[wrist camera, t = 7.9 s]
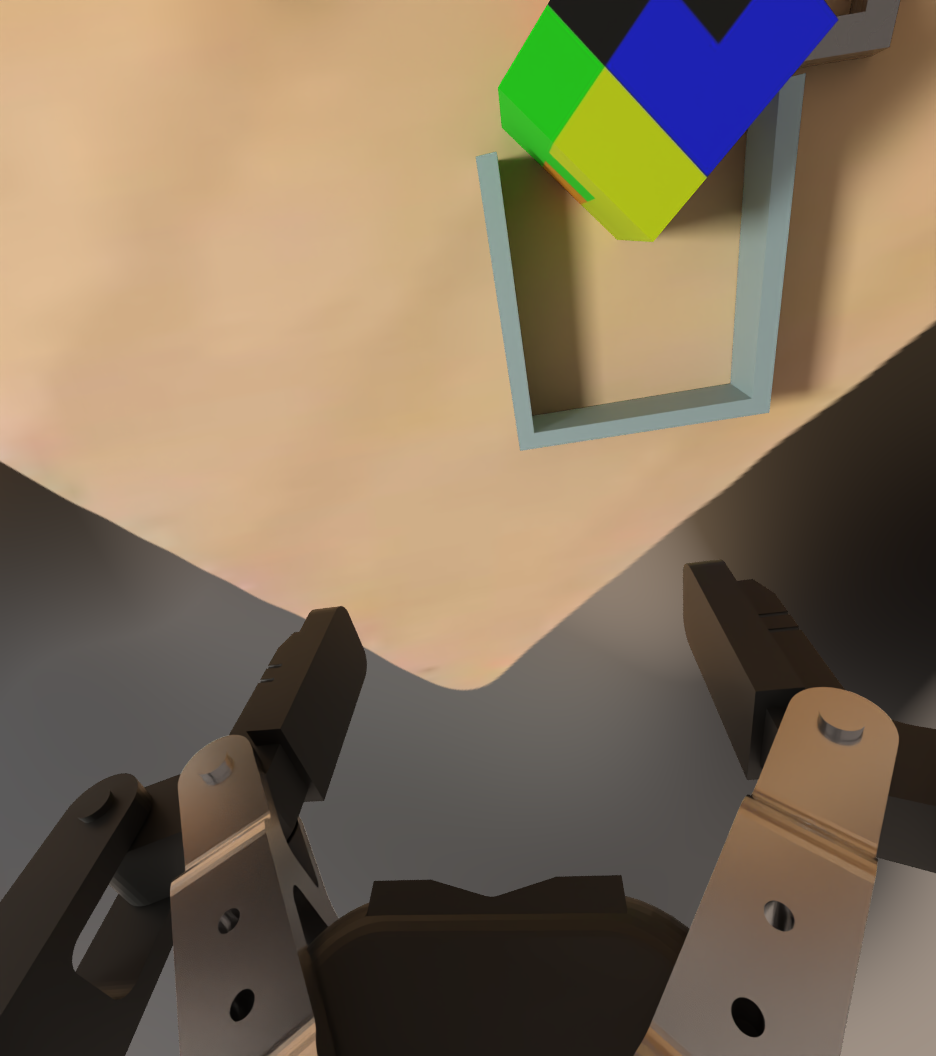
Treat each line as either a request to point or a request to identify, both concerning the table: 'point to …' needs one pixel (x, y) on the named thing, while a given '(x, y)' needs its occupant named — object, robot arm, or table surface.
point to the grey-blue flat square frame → (754, 311)
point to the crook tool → (857, 33)
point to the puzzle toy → (649, 95)
